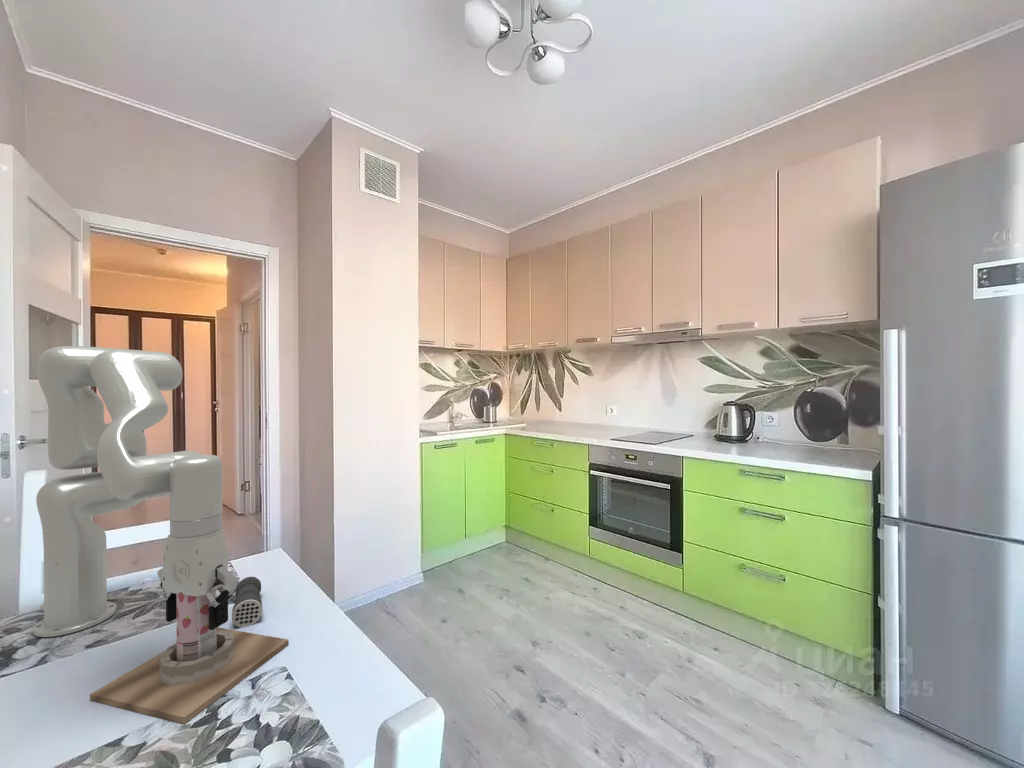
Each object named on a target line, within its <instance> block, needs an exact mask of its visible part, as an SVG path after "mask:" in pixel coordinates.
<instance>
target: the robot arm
mask: <svg viewBox="0 0 1024 768" xmlns="http://www.w3.org/2000/svg"><path fill="white" fill-rule="evenodd" d="M36 367H37V369H36V372H37V380H38V382H39V385H40V386H39V387H40V388H41V390H42V393H43V395H44V398H45V401H46V403H47V410H48V414H47V423H48V424H47V455H48V461H49V463H50V464H51V466H52V467H54V468H55V469H57V470H63V471H64V470H65V471H67V470H69V471H70V470H71V471H72V470H82V469H91V468H96V467H97V468H98V469H99V471H97V472H95V471H94V472H86V473H81V474H74V475H68V476H63V477H59V478H56V479H54V480H53V479H52V480H51V481H49V482H47V483H45V484H44V485H42V486H41V488H39V490H38V491H37V493H36V508H37V511H38V515H39V520H40V523H41V529H42V531H41V532H42V540H43V542H42V544H43V547H42V548H43V603H41V604H40V606H39V609H40V610H41V611H43V619H41V620H40V621H38V622H37V623H35V624H34V626H33V628H32V634H33V635H34V636H35V637H39V638H53V637H60V636H64V635H70V634H73V633H76V632H80V631H83V630H86V629H88V628H91V627H93V626H95V625H98V624H100V623H102V622H104V621H105V620H107V619H109V618H111V617H112V616H113V615H114V614H115V613H116V611H117V604H116V603H115V602H112V601H108V597H107V595H108V594H107V593H108V592H107V591H108V590H107V589H108V586H107V585H108V581H107V580H108V578H107V575H108V574H107V572H108V571H107V567H108V566H107V563H108V561H107V559H108V558H107V556H108V554H107V551H108V550H107V535H106V532H105V530H104V529H103V527H101V526H100V525H98V524H97V523H95V522H94V521H93V520H92V518H93V517H95V516H99V515H103V514H107V513H114V512H117V511H122V510H126V509H127V510H128V509H131V508H133V507H135V506H137V505H139V504H140V503H141V502H142V501H143V500H146V499H150V498H151V499H152V498H154V497H155V498H156V497H160V496H166V495H169V534H168V535H167V538H166V541H165V546H164V550H163V551H164V552H163V558H162V568H160V569H159V570H157V577H158V579H159V582H160V583H159V585H160V588H161V589H162V590H163V594H162V595H163V598H164V599H165V621H166V622H168V623H171V622H172V621H175V620H177V605H176V594H179V592H182V593H183V595H187V596H192V597H203V596H205V595H206V596H207V598H208V599H209V601H210V603H211V604H212V606H210V607H209V629H210V630H214V629H215V628H217V627H218V628H220V626H222V625H224V624H225V623H227V622H228V620H229V601H230V600H231V598H232V596H234V595H235V592H236V587H237V585H238V583H239V582H240V580H239V578H238V577H237V576H235V575H234V574H233V573H231V571H229V563H228V561H229V560H228V551H227V549H228V548H227V542H226V537H225V534H224V531H223V460H222V459H221V458H220V456H218V455H215V454H203V453H201V452H199V451H196V450H181V451H174V452H165V453H156V454H155V453H154V454H149V455H148V454H147V452H148V451H147V439H146V436H145V433H144V431H145V430H146V429H149V428H152V427H153V426H155V425H156V424H158V423H159V422H161V421H162V420H163V419H165V417H166V416H167V414H168V413H169V404H168V402H167V401H166V399H165V397H164V395H163V394H162V392H163V391H165V392H166V391H173V390H175V389H176V388H178V387H179V386H180V385H181V383H182V381H183V369H182V366H181V363H180V362H179V360H178V359H177V358H176V357H175V356H173V355H172V354H170V353H168V352H163V351H149V350H140V349H127V348H125V349H124V348H114V347H112V348H111V347H98V346H85V345H83V346H82V345H81V346H80V345H79V346H77V345H74V346H73V345H65V346H64V345H63V346H55V347H51V348H49V349H46V350H45V351H44V352H42V354H41V355H40V357H39V358H38V362H37V366H36ZM91 387H96V389H97V391H98V392H99V394H100V396H99V395H98V394H97V393H96V392H95V391H94V390H93V388H91ZM105 407H106V410H107V411H108V413H109V416H110V417H111V419H112V420H111V421H110V423H106V422H105ZM213 584H215V586H214V587H213ZM215 591H216V592H217V591H218V592H219V595H218V596H217V593H216V594H215V593H214V592H215Z"/></svg>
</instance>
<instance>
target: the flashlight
mask: <svg viewBox="0 0 1024 768" xmlns="http://www.w3.org/2000/svg"><path fill="white" fill-rule="evenodd" d="M261 582H262V581H261V580H260V579H259V578H257V576H256V577H255V576H247V577H245V578H243V579H242V580H239V582H238V584H237V586H236V589H235V593H234V595H235V597H236V599H235V602H234V605H233V607H232V609H231V610H232V611H231V621H232V624H234V626H236V627H238V628H245V627H248V626H252V625H255V623H257V622H258V621H259V619H260V618H261V616H262V614H263V602H262V597H261V595H260V593H261V591H262V583H261Z"/></svg>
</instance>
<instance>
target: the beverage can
mask: <svg viewBox="0 0 1024 768" xmlns="http://www.w3.org/2000/svg"><path fill="white" fill-rule="evenodd" d="M214 586H215V584H213V587H214ZM214 593H215V594H216V595H217V591H215V592H214ZM176 605H177V619H176V643H177V662H186V661H193V660H197V659H199V658H202V657H205V656H207V655H210V654H212V653H213V652H215V651H216V650H217V633H216V628H215V629H214V630H210V629H209V607H210V606H212V604H211V603H210V601H209V599H208V598H207V596H206V595H205V596H203V597H192V596H187V595H183V593H182V592H179V594H176Z"/></svg>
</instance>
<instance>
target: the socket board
mask: <svg viewBox="0 0 1024 768" xmlns="http://www.w3.org/2000/svg"><path fill="white" fill-rule="evenodd" d="M216 633H217V650H216V651H215V652H213V653H212V654H210V655H207V656H205V657H202V658H199V659H197V660H193V661H186V662H177V642H176V643H174V644H173V645H170V646H169V647H167V648H166V650H164V651H163V652H160V653H159V654H157V655H156V656H154V657H152V658H150V659H148V660H147V661H145V662H144V663H141V664H140V665H138V666H136V667H135V668H132V669H131V670H129V671H127V672H126V673H124V674H123V675H121V676H119V677H117V678H116V679H113V680H112V681H110V682H109V683H107V684H105V685H103V686H102V687H100V688H98V689H97V690H95V691H93V692H91V693H89V701H92V702H95V703H99V704H103V705H106V706H111V707H114V708H119V709H122V710H126V711H130V712H134V713H140V714H143V715H146V716H150V717H153V718H158V719H163V720H167V721H170V722H175V723H178V724H182V725H186V724H187V723H189V722H190V721H191V720H192V719H194V718H195V717H196V716H197V715H199V714H201V713H202V712H203V711H204V710H206V709H207V708H208V707H210V706H212V704H214V703H215V702H216V701H217V700H218V699H220V698H221V697H223V696H224V695H225V694H226V693H228V692H229V691H230V690H232V689H233V688H234V687H235V686H236V685H238V684H240V682H242V681H243V680H245V679H246V678H248V676H250V674H253V672H255V671H256V670H258V669H259V668H261V666H262V665H264V664H265V663H267V662H268V661H269V660H271V659H273V657H275V656H277V655H278V653H280V652H281V651H282V650H284V649H285V648H286V647H288V646H289V645H290V643H289V641H290V640H289V639H287V638H280V637H276V636H269V635H264V634H260V633H259V634H257V633H252V632H246V631H241V630H235V629H228V628H223V627H217V628H216Z"/></svg>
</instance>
